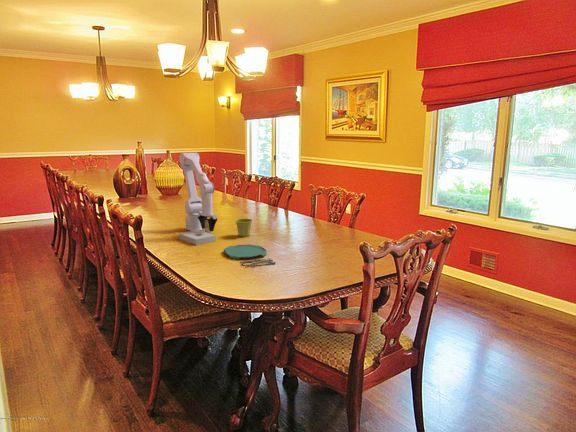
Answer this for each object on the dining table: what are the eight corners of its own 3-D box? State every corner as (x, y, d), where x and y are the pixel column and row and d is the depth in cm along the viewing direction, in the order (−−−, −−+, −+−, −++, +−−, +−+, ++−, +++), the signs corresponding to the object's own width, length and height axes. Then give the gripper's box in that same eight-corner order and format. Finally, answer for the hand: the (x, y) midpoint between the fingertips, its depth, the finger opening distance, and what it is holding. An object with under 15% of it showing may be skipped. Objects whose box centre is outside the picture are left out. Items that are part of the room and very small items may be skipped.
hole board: (179, 239, 224) (179, 233, 224) (198, 235, 233) (198, 229, 232) (196, 245, 213) (196, 239, 213) (216, 241, 222) (215, 235, 221)
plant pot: (236, 238, 228) (236, 222, 226) (234, 234, 237) (234, 218, 235) (253, 237, 231) (253, 221, 229) (250, 233, 239) (250, 218, 238)
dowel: (203, 235, 234) (203, 220, 232) (208, 234, 236) (208, 220, 234) (207, 236, 231) (206, 221, 230) (211, 235, 234) (211, 220, 232)
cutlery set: (258, 246, 214) (258, 242, 213) (280, 265, 187) (280, 260, 186) (219, 250, 206) (219, 246, 206) (236, 271, 179) (236, 266, 179)
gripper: (193, 204, 232) (194, 228, 235) (208, 208, 222) (209, 233, 225) (204, 202, 237) (204, 226, 240) (219, 206, 227) (220, 231, 230)
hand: (207, 229), depth 233 cm, fingers open, 7 cm apart
